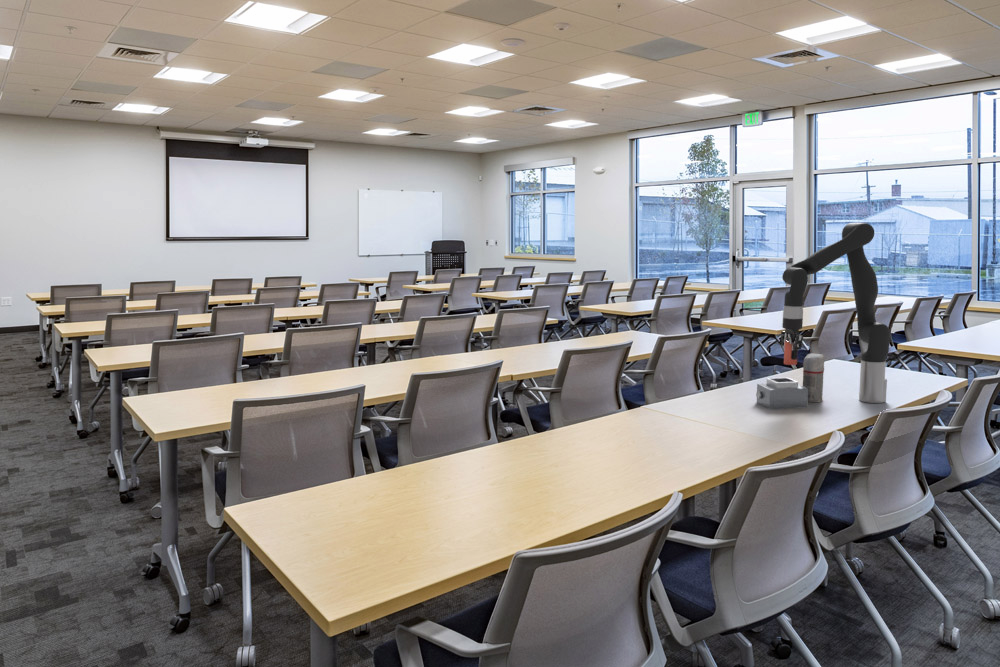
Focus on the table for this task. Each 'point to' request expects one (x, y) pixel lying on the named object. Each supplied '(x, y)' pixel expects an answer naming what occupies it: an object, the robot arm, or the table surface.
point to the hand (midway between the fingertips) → (790, 358)
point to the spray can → (813, 376)
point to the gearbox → (782, 394)
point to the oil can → (788, 354)
